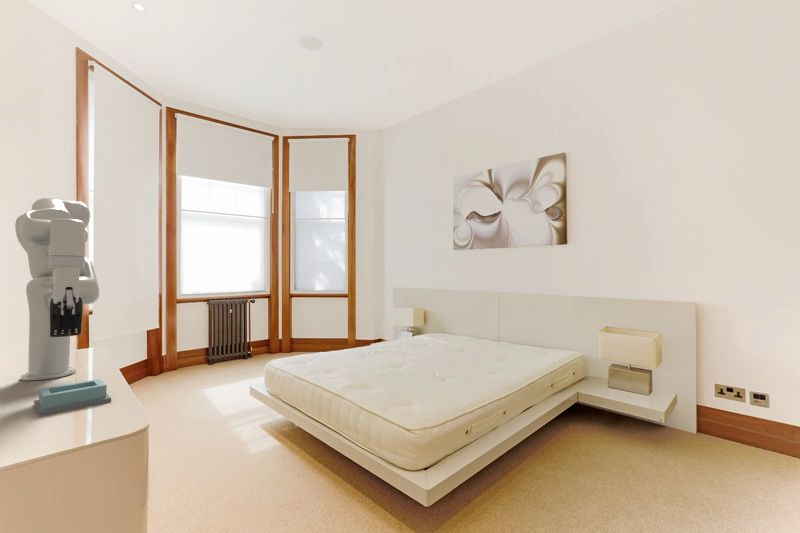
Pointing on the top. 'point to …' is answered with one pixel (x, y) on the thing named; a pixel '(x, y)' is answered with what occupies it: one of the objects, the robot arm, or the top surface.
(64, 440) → the top surface
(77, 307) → the battery charger
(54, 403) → the dock
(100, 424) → the top surface
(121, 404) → the top surface
